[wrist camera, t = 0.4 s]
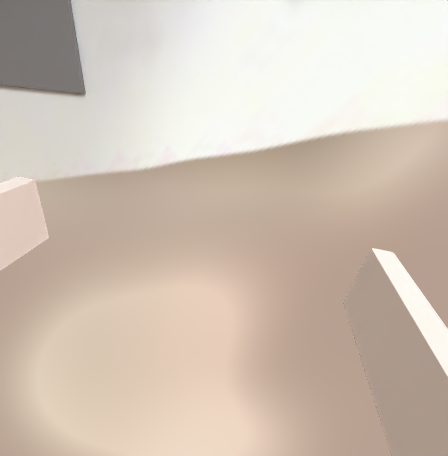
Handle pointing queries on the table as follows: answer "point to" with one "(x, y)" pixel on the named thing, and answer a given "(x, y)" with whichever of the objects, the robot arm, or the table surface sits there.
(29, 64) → the mat
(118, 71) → the table surface
